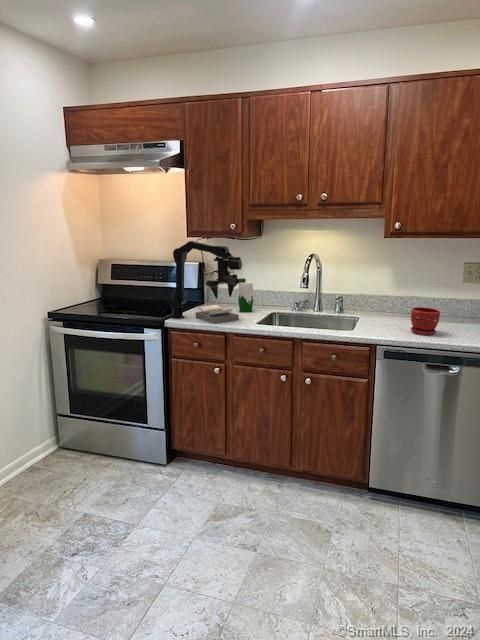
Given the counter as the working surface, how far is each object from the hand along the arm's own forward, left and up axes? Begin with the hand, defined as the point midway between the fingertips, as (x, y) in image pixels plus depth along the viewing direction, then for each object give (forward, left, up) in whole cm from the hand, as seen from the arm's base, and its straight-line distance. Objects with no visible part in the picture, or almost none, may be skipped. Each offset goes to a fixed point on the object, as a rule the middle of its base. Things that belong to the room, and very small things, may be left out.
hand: (223, 297), depth 257 cm
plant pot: (+84, +63, -13) cm, 105 cm away
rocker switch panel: (-6, 0, -13) cm, 14 cm away
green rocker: (-2, 0, -9) cm, 10 cm away
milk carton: (-13, +26, -13) cm, 32 cm away
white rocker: (-13, 0, -9) cm, 16 cm away
